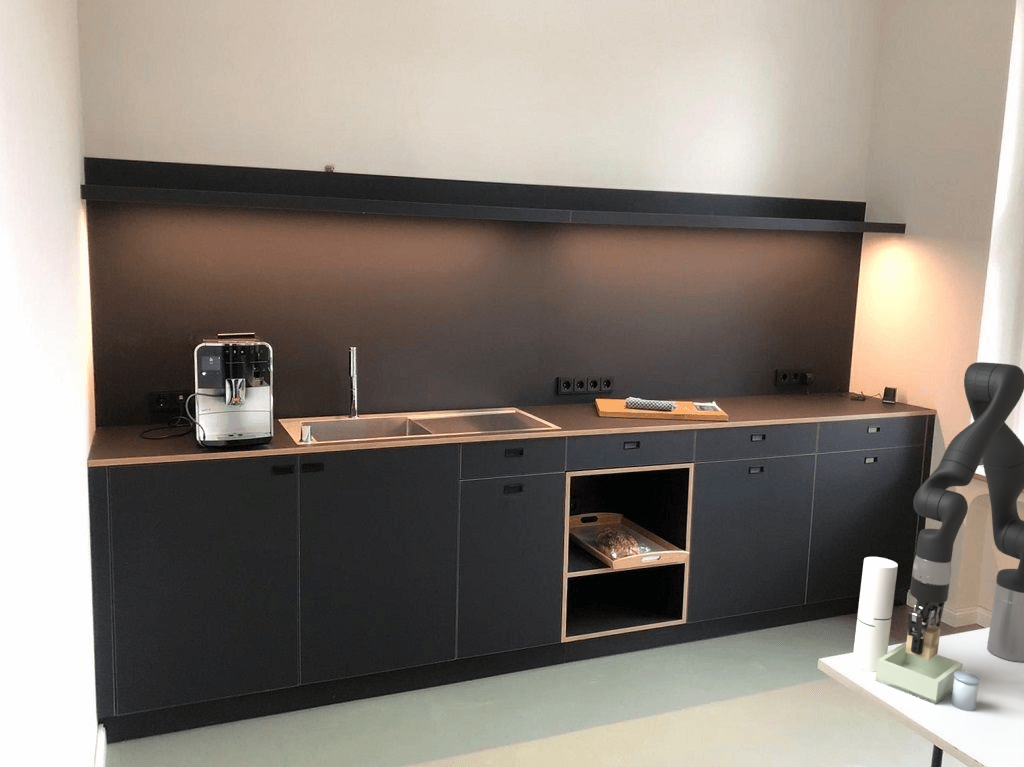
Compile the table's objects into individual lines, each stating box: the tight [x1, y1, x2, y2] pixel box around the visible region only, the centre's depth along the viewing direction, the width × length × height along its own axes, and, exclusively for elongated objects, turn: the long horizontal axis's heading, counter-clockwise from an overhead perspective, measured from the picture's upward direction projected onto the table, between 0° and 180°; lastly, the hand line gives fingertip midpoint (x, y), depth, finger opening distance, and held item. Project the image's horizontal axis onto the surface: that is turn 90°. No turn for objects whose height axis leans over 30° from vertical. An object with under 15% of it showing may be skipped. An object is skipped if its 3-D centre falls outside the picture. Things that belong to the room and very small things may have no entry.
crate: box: [875, 642, 964, 705], centre depth 191 cm, size 14×13×5 cm
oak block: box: [905, 622, 941, 660], centre depth 190 cm, size 5×5×6 cm
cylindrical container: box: [852, 556, 898, 673], centre depth 197 cm, size 7×7×25 cm
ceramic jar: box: [950, 670, 981, 712], centre depth 181 cm, size 5×5×7 cm
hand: (921, 649), depth 190 cm, fingers closed on oak block, 5 cm apart
